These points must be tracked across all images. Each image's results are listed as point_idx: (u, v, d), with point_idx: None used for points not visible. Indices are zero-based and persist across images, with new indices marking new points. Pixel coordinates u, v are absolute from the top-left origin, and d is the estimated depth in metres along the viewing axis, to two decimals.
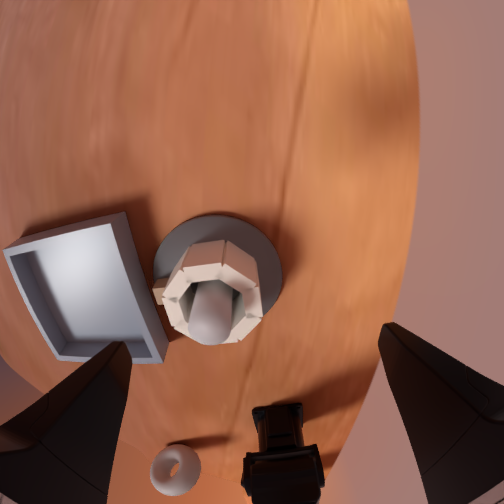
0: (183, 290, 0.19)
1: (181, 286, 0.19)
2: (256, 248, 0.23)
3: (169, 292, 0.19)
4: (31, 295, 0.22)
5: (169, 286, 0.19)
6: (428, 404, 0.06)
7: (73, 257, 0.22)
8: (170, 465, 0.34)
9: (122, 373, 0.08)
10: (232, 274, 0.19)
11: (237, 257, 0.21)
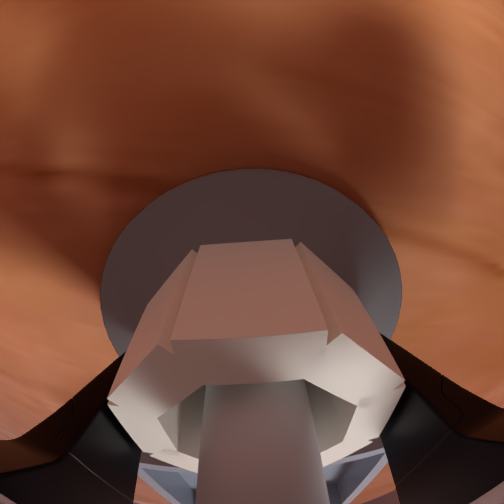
0: None
1: (191, 462, 0.07)
2: (162, 241, 0.08)
3: None
4: None
5: (194, 471, 0.07)
6: (400, 413, 0.06)
7: None
8: None
9: None
10: (133, 394, 0.05)
11: (145, 322, 0.07)
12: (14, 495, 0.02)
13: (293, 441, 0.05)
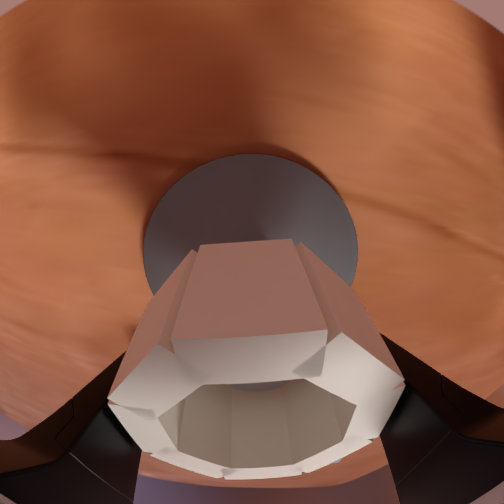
0: (202, 461, 0.07)
1: (191, 461, 0.07)
2: (193, 198, 0.13)
3: (208, 472, 0.07)
4: None
5: (194, 470, 0.07)
6: (400, 413, 0.06)
7: None
8: None
9: None
10: (134, 393, 0.05)
11: (145, 322, 0.07)
12: (14, 494, 0.02)
13: None
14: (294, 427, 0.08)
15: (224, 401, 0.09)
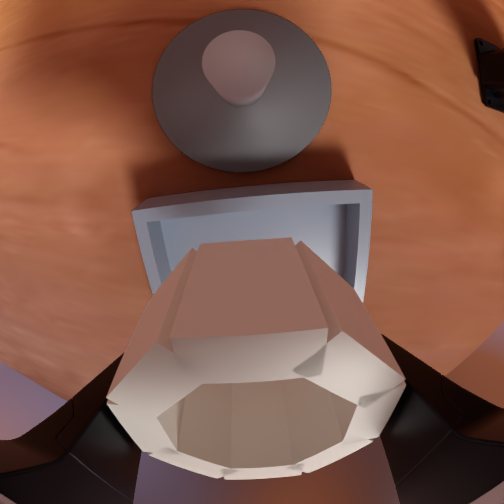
0: (201, 461, 0.07)
1: (190, 461, 0.07)
2: (196, 37, 0.13)
3: (208, 472, 0.07)
4: None
5: (194, 470, 0.07)
6: (400, 413, 0.06)
7: None
8: None
9: None
10: (133, 392, 0.05)
11: (145, 321, 0.07)
12: (14, 494, 0.02)
13: None
14: (294, 427, 0.08)
15: (224, 401, 0.09)
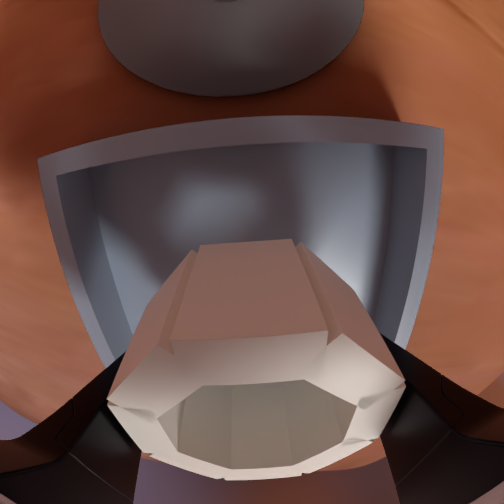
0: (202, 462, 0.07)
1: (191, 462, 0.07)
2: None
3: (208, 473, 0.07)
4: None
5: (194, 471, 0.07)
6: (400, 414, 0.06)
7: (160, 287, 0.12)
8: None
9: None
10: (133, 394, 0.05)
11: (145, 322, 0.07)
12: (14, 495, 0.02)
13: None
14: (294, 428, 0.08)
15: (224, 402, 0.09)
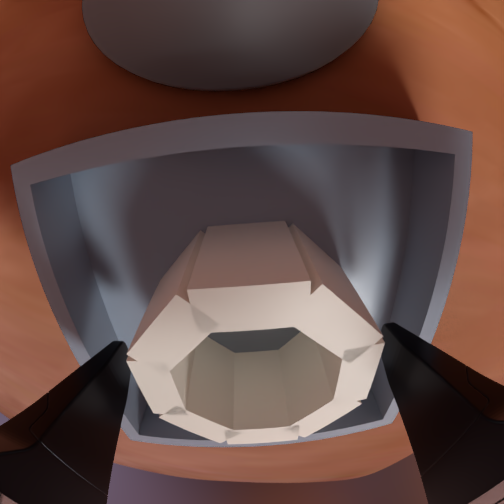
0: (207, 421, 0.08)
1: (197, 422, 0.08)
2: None
3: (212, 435, 0.08)
4: None
5: (199, 433, 0.08)
6: (428, 404, 0.06)
7: None
8: None
9: (122, 373, 0.08)
10: (151, 346, 0.06)
11: (161, 290, 0.08)
12: None
13: None
14: (290, 392, 0.09)
15: (227, 370, 0.11)
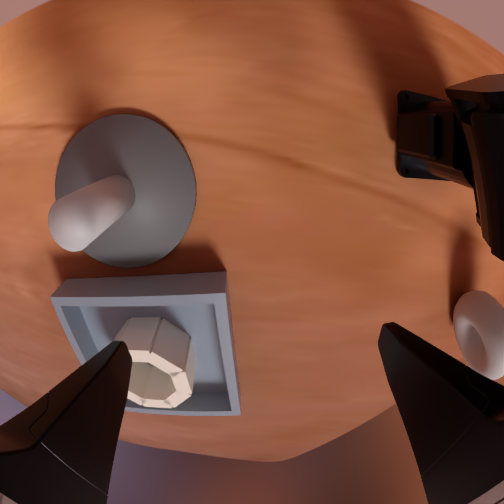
0: (132, 393, 0.20)
1: (129, 394, 0.20)
2: (81, 148, 0.16)
3: (136, 401, 0.20)
4: None
5: (131, 399, 0.20)
6: (428, 404, 0.06)
7: None
8: (477, 336, 0.21)
9: (122, 373, 0.08)
10: None
11: None
12: None
13: (90, 191, 0.13)
14: (168, 386, 0.21)
15: (146, 374, 0.22)
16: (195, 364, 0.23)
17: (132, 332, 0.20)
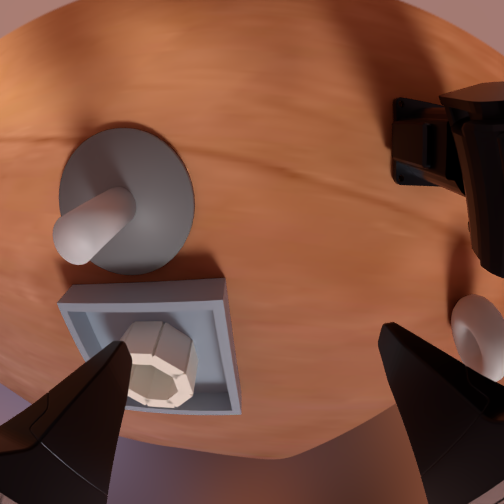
0: (136, 394, 0.21)
1: (133, 394, 0.21)
2: (82, 161, 0.17)
3: (140, 400, 0.21)
4: None
5: (136, 399, 0.21)
6: (428, 404, 0.06)
7: None
8: (475, 340, 0.21)
9: (122, 373, 0.08)
10: None
11: None
12: None
13: (91, 207, 0.13)
14: (171, 387, 0.22)
15: (150, 375, 0.23)
16: (197, 366, 0.24)
17: (136, 336, 0.21)
